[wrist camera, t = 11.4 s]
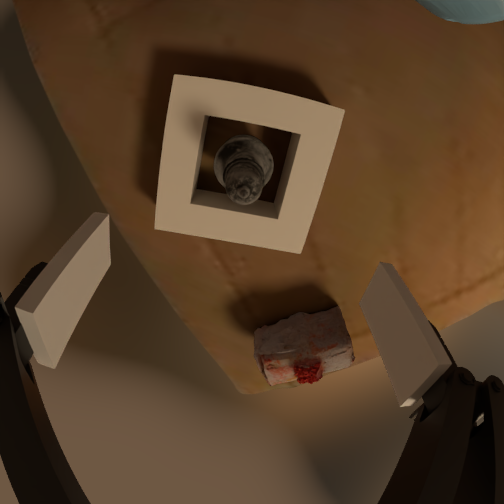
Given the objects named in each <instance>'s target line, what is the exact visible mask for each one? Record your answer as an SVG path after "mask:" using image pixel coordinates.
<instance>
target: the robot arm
mask: <svg viewBox="0 0 504 504" xmlns="http://www.w3.org/2000/svg"><path fill="white" fill-rule="evenodd" d="M416 1H417V2H418V3H420V4H421V5H422V6H423V7H425V8H426V9H427V10H429V11H430V12H431V13H433V14H435V15H436V16H438V17H440V18H442V19H445V20H448V21H454V22H460V23H463V24H485V23H492V22H497V21H502V20H504V0H416ZM109 240H110V239H109V214H104V213H98V212H94V213H93V214H92V215H91V216H90V217H89V218H88V219H87V220H86V221H85V223H84V224H83V225H82V226H81V227H80V228H79V229H78V230H77V231H76V232H75V233H74V234H73V236H72V237H71V238H70V239H69V240H68V241H67V242H66V243H65V244H64V246H63V247H62V248H61V249H60V250H59V251H58V252H57V254H56V255H55V256H54V257H53V258H52V260H51V261H50V262H49V263H45V262H41V263H39V264H37V265H36V266H34V267H33V268H31V270H30V271H29V272H28V273H27V274H26V276H25V278H23V279H22V281H21V282H20V284H19V285H18V286H17V287H16V288H15V289H14V291H13V292H12V293H11V295H10V296H9V297H8V298H7V300H6V301H5V302H4V301H3V298H2V295H1V293H0V455H1V458H2V461H3V464H4V467H5V470H6V472H7V475H8V478H9V480H10V482H11V485H12V488H13V490H14V492H15V495H16V497H17V499H18V502H19V504H91V503H90V502H89V500H88V499H87V497H86V495H85V494H84V492H83V490H82V489H81V486H80V485H79V483H78V481H77V479H76V477H75V475H74V474H73V471H72V470H71V468H70V466H69V464H68V462H67V460H66V457H65V455H64V453H63V451H62V449H61V447H60V445H59V442H58V440H57V437H56V435H55V433H54V431H53V428H52V426H51V423H50V420H49V418H48V415H47V412H46V410H45V407H44V404H43V401H42V398H41V395H40V392H39V389H38V386H37V383H36V380H35V376H34V372H33V369H32V366H31V363H30V362H29V360H30V358H31V357H32V354H33V353H34V356H35V358H36V360H37V362H38V363H39V364H42V365H45V366H47V367H50V368H53V369H55V368H56V365H57V363H58V361H59V359H60V357H61V355H62V353H63V351H64V349H65V346H66V344H67V342H68V340H69V338H70V336H71V334H72V332H73V330H74V328H75V326H76V325H77V323H78V320H79V319H80V317H81V315H82V313H83V312H84V310H85V308H86V306H87V304H88V302H89V301H90V299H91V297H92V295H93V294H94V292H95V290H96V288H97V287H98V285H99V283H100V281H101V280H102V278H103V276H104V274H105V273H106V271H107V270H108V268H109V266H110V265H111V260H110V241H109ZM359 305H360V307H361V309H362V311H363V314H364V316H365V318H366V321H367V323H368V325H369V328H370V330H371V333H372V335H373V337H374V340H375V342H376V345H377V347H378V350H379V352H380V355H381V357H382V360H383V362H384V365H385V368H386V370H387V373H388V375H389V378H390V380H391V383H392V386H393V389H394V392H395V394H396V397H397V400H398V403H399V406H400V407H402V406H410V405H414V404H415V403H416V402H417V401H418V400H419V399H420V398H421V397H422V398H423V400H424V403H423V404H422V405H421V406H420V407H419V408H418V409H417V410H415V411H414V413H413V414H411V416H410V417H409V418H412V417H413V416H414V415H416V414H417V416H416V418H415V419H414V421H415V422H414V424H413V427H412V430H411V432H410V435H409V438H408V440H407V443H406V445H405V448H404V450H403V452H402V455H401V457H400V459H399V462H398V464H397V466H396V468H395V470H394V473H393V475H392V477H391V479H390V481H389V483H388V485H387V487H386V489H385V491H384V493H383V495H382V496H381V498H380V500H379V502H378V504H504V385H503V383H502V381H501V380H500V379H499V378H498V377H496V376H493V375H491V376H489V377H488V378H487V379H486V380H485V381H484V382H479V381H476V380H475V377H474V376H473V374H472V373H471V372H470V371H469V370H468V369H466V368H463V367H457V365H456V363H455V361H454V359H453V357H452V355H451V354H450V352H449V350H448V348H447V346H446V345H444V341H443V340H442V338H440V337H441V336H440V334H439V332H438V331H437V329H436V328H435V327H434V326H433V325H432V323H431V322H430V321H429V320H427V318H426V316H425V315H424V313H423V312H422V310H421V308H420V307H419V305H418V303H417V302H416V300H415V299H414V297H413V295H412V294H411V292H410V291H409V289H408V288H407V286H406V285H405V283H404V282H403V280H402V278H401V277H400V275H399V274H398V272H397V271H396V269H395V268H394V267H393V265H392V264H389V263H383V262H380V263H379V265H378V267H377V269H376V271H375V273H374V275H373V277H372V279H371V281H370V283H369V285H368V287H367V289H366V291H365V293H364V295H363V297H362V299H361V301H360V303H359ZM482 416H484V422H482V423H481V424H480V425H479V426H477V423H476V422H477V421H478V420H479V419H480V418H481V417H482Z"/></svg>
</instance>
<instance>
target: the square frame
mask: <svg viewBox="0 0 504 504" xmlns="http://www.w3.org/2000/svg"><path fill="white" fill-rule="evenodd" d="M344 112H345V110H343V109H340V108H337V107H334V106H330V105H327V104H324V103H320V102H317V101H313V100H310V99H306V98H303V97H299V96H295V95H291V94H287V93H283V92H279V91H274V90H270V89H266V88H261V87H256V86H251V85H246V84H241V83H235V82H229V81H223V80H217V79H210V78H203V77H195V76H186V75H177V74H174V78H173V83H172V89H171V94H170V100H169V106H168V112H167V118H166V125H165V131H164V139H163V146H162V154H161V162H160V171H159V181H158V191H157V202H156V215H155V229H159V230H164V231H170V232H176V233H182V234H188V235H194V236H200V237H206V238H212V239H218V240H223V241H229V242H235V243H241V244H247V245H252V246H258V247H264V248H270V249H275V250H281V251H287V252H293V253H298V254H301V251H302V248H303V245H304V243H305V240H306V237H307V234H308V231H309V228H310V224H311V221H312V218H313V215H314V212H315V209H316V206H317V203H318V200H319V197H320V193H321V190H322V187H323V184H324V181H325V177H326V174H327V171H328V168H329V164H330V161H331V158H332V154H333V151H334V147H335V144H336V141H337V137H338V134H339V130H340V127H341V123H342V120H343V116H344ZM209 116H215V117H221V118H226V119H232V120H238V121H243V122H248V123H253V124H258V125H263V126H267V127H272V128H276V129H281V130H285V131H289V132H292V135H291V139H290V143H289V147H288V151H287V155H286V159H285V162H284V166H283V170H282V174H281V178H280V182H279V185H278V189H277V193H276V197H275V201H274V203H271V202H266V201H261V200H256V201H255V202H253V203H251V204H247V205H240V204H237V203H235V202H233V201H232V200H231V199H230V198H229V197H228V195H227V194H223V193H217V192H212V191H206V190H200V189H197V183H198V176H199V170H200V164H201V158H202V152H203V146H204V141H205V135H206V130H207V124H208V119H209Z"/></svg>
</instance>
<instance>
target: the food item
mask: <svg viewBox="0 0 504 504" xmlns="http://www.w3.org/2000/svg"><path fill="white" fill-rule="evenodd" d="M254 334H255V338H254V358H255V360H256V362H257V365H258V368H259V370H260V372H261V373H262V374H263V375H264V377H265V380H266V381H267V382H268V384H269V385H270V386H272V385H275V384H277V383H279V384H280V383H284V382H289V381H293V380H297V381H298V382H299V383H300V384H301V383H303V384H304V383H305V382H306V383H307V382H308V383H310V384H312V383H313V382H316V381H318V380H319V379H321V378H322V377H323V376H322V373H326V372H330V371H335V370H339V369H342V368H347V367H349V366H350V365H351V364H352V363H353V361H354V360H355V357H354V353H353V347H352V341H351V338H350V335H349V333H348V331H347V328H346V325H345V321H344V319H343V317H342V313H341V310H340V308H339V306H336V307H334V308H331V309H329V310H327V311H321V312H318V313H315V314H307V313H304V312H298V313H296V314H294V315H291V316H290V317H289V318H288V319H282V320H280V321H279V322H278V323H276V324H274V325H270V326H267V325H264V326H262V328H257V330H256V331H255V332H254ZM353 357H354V358H353Z"/></svg>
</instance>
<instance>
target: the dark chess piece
mask: <svg viewBox="0 0 504 504" xmlns="http://www.w3.org/2000/svg"><path fill="white" fill-rule="evenodd" d="M273 167H274V163H273V157H272V155H271V153H270V151H269V149H268V148H267V147H266V146H265V145H264V144H263V143H262V142H261V141H260V140H259V139H257V138H256V137H253V136H250V135H237V136H234V137H232V138H230V139H229V140H228V141H226V142H225V144H224V145H222V146H221V147H220V149H219V150H218V152H217V153H216V156H215V159H214V172H215V176H216V177H217V179H218V181H219V182H220V183H221V184H222V186H223V187H225V189H226V193H227V195H228V197H229V198H230V199H231V200H232V201H233V202H235V203H237V204H240V205H247V204H251V203H253V202H255V201H256V200H257V199H258V198H259V197H260V195H261V192H262V187H264V186H265V185H266V184H267V182H268V181H269V180H270V178H271V176H272V173H273Z"/></svg>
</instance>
